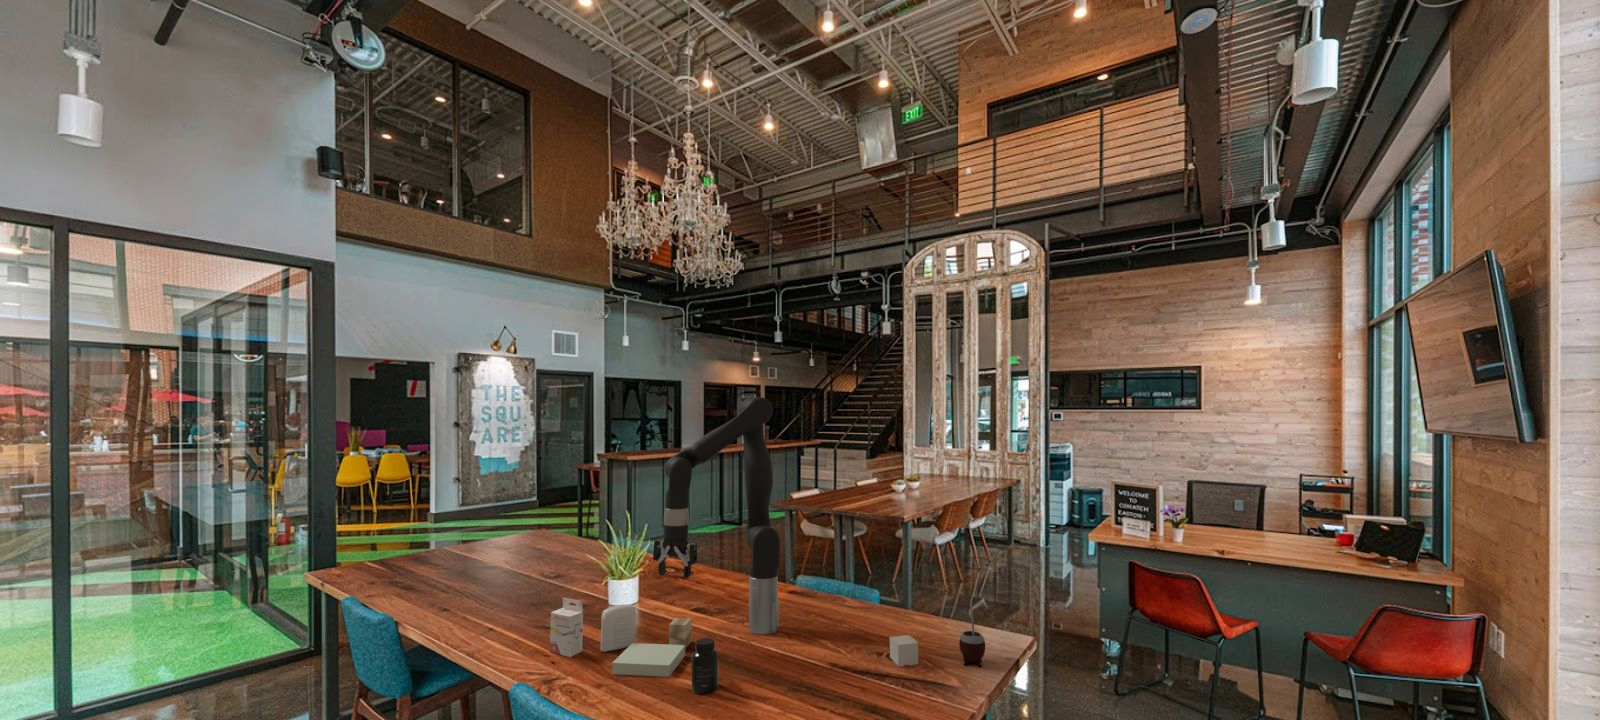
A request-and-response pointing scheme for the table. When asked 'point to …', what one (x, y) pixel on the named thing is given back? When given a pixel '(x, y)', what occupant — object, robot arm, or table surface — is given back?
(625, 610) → the photo printer
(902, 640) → the grey cube
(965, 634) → the mate gourd
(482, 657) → the table surface
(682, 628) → the birch block
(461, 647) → the table surface
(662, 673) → the base plate
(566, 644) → the ink cartridge box
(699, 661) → the supplement bottle
